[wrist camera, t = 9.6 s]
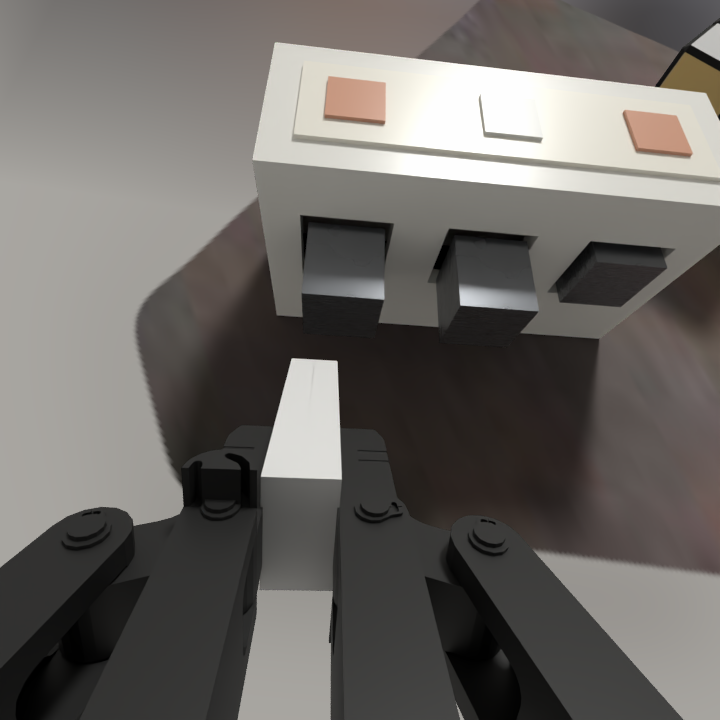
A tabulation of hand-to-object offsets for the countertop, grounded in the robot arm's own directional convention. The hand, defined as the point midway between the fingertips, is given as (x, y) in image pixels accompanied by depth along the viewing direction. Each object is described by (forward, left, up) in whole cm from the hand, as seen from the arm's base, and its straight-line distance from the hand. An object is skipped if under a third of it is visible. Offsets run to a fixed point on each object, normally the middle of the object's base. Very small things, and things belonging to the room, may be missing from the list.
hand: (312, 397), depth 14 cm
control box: (0, -16, -11) cm, 19 cm away
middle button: (-3, -10, -6) cm, 12 cm away
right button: (-8, -17, -6) cm, 19 cm away
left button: (+3, -7, -6) cm, 9 cm away
